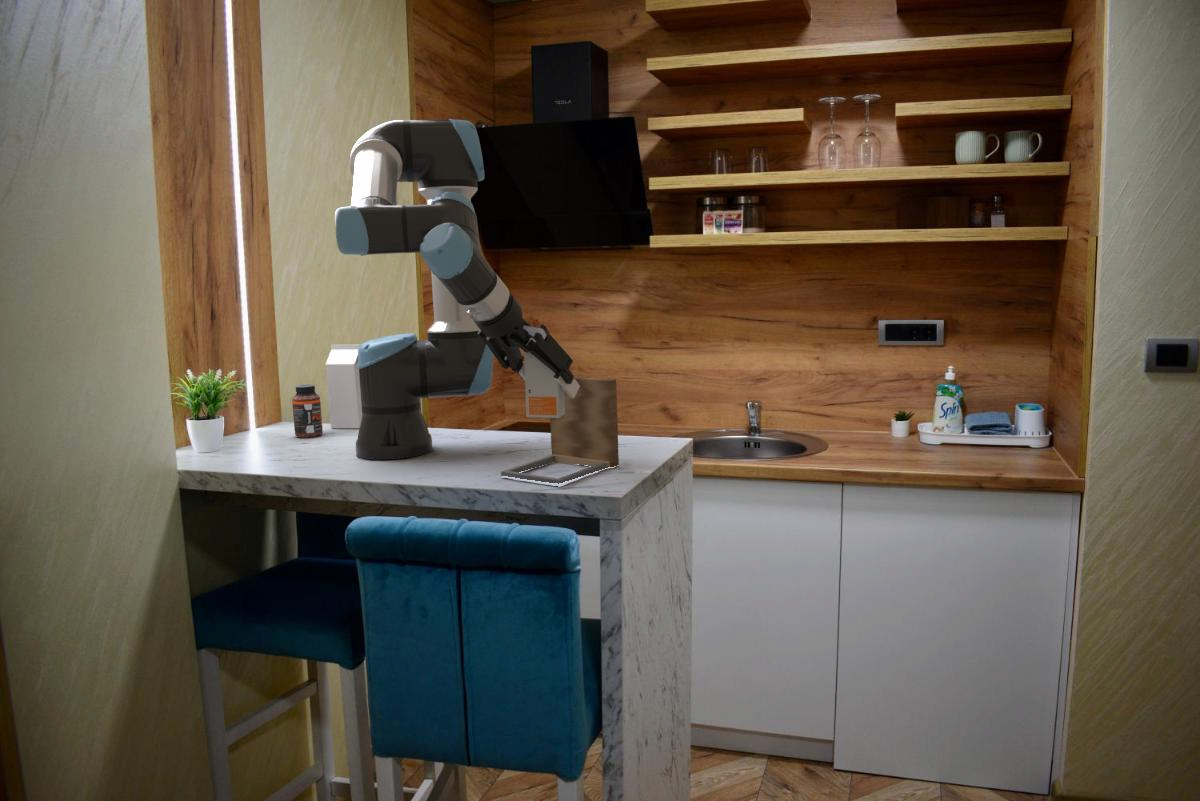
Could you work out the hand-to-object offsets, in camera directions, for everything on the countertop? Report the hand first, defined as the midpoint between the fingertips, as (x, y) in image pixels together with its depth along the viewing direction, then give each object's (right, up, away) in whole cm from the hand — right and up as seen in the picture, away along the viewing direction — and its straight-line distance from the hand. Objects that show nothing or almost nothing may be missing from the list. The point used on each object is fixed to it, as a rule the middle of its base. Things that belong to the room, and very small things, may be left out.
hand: (557, 390), depth 165 cm
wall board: (+5, -13, +8) cm, 16 cm away
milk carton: (-50, -8, +52) cm, 72 cm away
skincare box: (-2, -5, -2) cm, 6 cm away
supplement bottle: (-57, -10, +42) cm, 72 cm away
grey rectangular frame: (0, -15, +2) cm, 15 cm away
